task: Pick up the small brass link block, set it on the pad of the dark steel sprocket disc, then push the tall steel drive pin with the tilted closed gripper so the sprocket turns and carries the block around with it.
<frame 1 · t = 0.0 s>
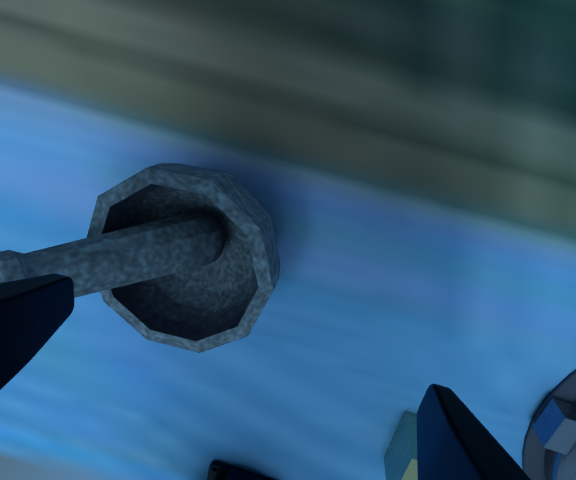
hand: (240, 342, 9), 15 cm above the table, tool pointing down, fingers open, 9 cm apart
link block: (417, 440, 27), on the table
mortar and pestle: (215, 222, 24), on the table
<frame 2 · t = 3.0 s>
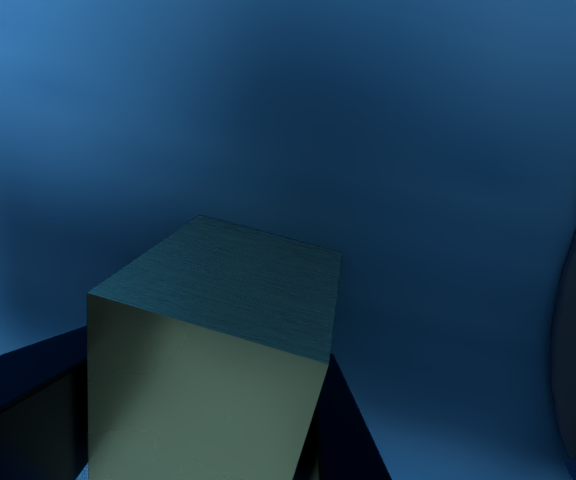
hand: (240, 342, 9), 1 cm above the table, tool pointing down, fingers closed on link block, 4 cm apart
link block: (252, 318, 10), on the table, touching gripper
when the fingers open (4 cm above the table, at t = 6.3 s): link block stays where it is, resting on sprocket.
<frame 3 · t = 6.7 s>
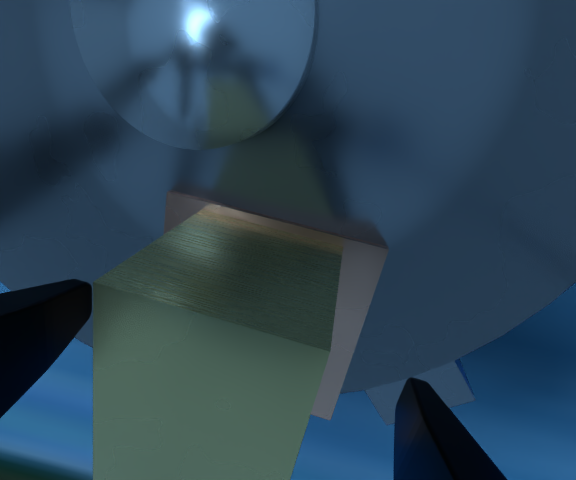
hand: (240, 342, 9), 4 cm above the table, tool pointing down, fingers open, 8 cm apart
link block: (253, 312, 10), point 3 cm above the table, touching sprocket
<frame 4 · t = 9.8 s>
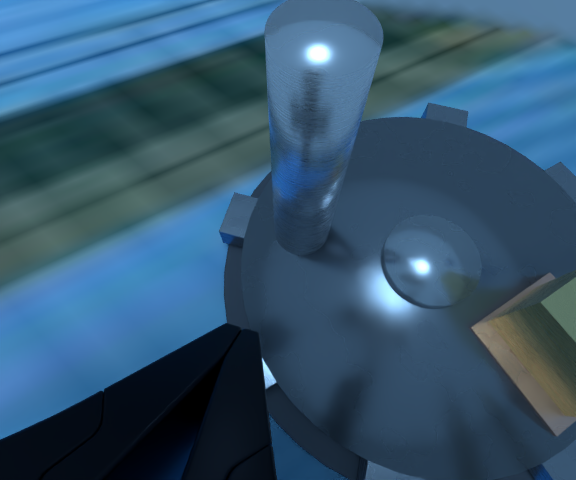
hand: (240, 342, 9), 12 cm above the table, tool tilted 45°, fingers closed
sprocket: (472, 221, 15), point 7 cm above the table, hinge at 0.0°, touching link block
link block: (551, 346, 18), point 3 cm above the table, touching sprocket
base mat: (412, 276, 22), on the table
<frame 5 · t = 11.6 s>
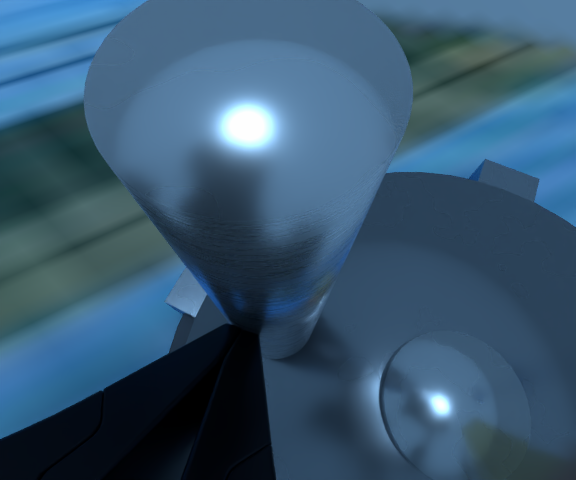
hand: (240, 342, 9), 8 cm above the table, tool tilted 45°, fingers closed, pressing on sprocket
sprocket: (536, 408, 9), point 7 cm above the table, hinge at -9.6°, touching gripper, link block
base mat: (423, 402, 15), on the table
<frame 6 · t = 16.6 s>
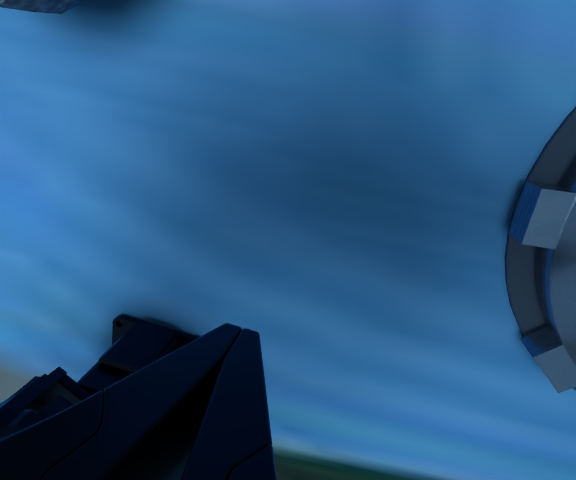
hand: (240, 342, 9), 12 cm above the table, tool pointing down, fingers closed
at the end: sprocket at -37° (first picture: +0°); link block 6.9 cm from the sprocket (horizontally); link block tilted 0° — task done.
